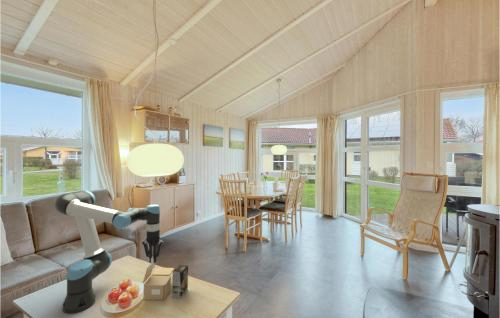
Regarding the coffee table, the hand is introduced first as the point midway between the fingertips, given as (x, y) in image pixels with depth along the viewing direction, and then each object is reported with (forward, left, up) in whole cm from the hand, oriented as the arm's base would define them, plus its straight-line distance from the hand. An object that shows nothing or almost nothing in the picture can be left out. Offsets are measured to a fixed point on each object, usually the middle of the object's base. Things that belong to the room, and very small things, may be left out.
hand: (152, 267), depth 141 cm
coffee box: (+17, +1, -17) cm, 24 cm away
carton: (+3, +4, -17) cm, 18 cm away
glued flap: (-4, 0, -7) cm, 8 cm away
